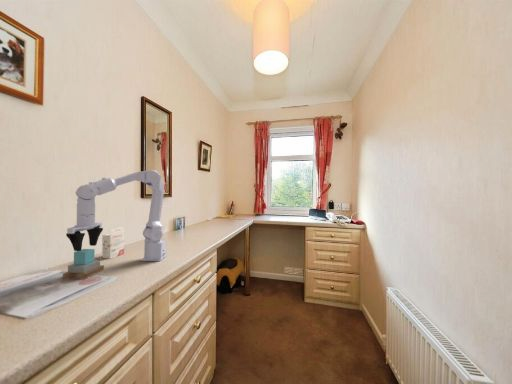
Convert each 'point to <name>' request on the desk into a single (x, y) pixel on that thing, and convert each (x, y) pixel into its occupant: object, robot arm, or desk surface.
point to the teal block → (84, 256)
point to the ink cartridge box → (113, 243)
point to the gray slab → (83, 267)
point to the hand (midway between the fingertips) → (85, 248)
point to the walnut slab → (84, 275)
